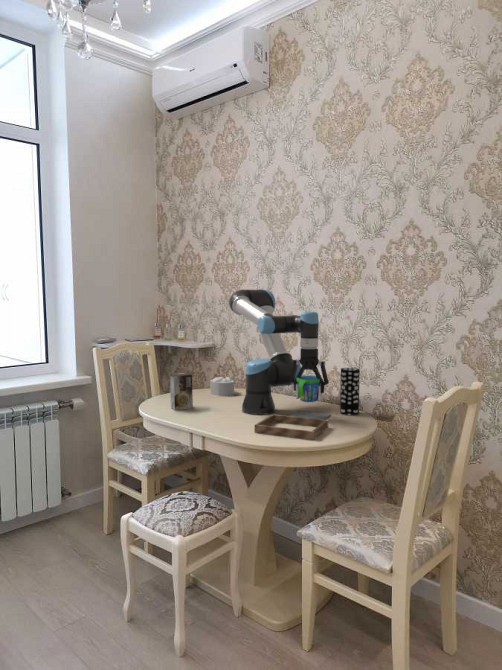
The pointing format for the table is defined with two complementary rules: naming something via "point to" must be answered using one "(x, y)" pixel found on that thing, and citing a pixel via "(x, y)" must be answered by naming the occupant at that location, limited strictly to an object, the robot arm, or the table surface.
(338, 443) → the table surface
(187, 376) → the coffee box
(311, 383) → the snack cup
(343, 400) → the spotted tube
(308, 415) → the slate mat
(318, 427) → the wooden frame
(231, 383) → the lumpy-topped squat cylinder
